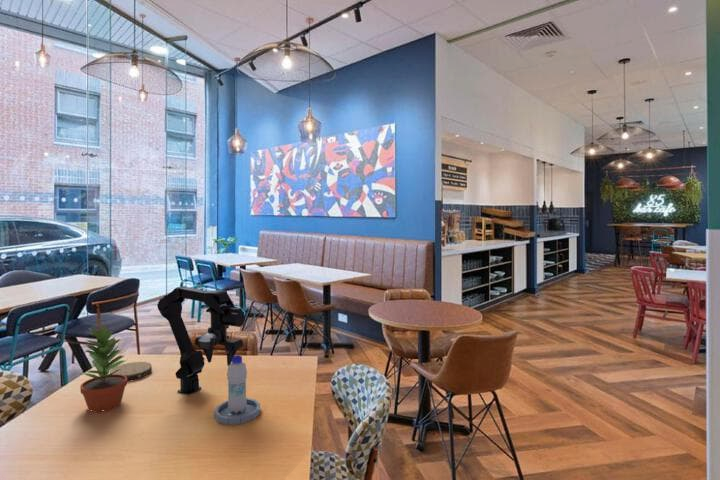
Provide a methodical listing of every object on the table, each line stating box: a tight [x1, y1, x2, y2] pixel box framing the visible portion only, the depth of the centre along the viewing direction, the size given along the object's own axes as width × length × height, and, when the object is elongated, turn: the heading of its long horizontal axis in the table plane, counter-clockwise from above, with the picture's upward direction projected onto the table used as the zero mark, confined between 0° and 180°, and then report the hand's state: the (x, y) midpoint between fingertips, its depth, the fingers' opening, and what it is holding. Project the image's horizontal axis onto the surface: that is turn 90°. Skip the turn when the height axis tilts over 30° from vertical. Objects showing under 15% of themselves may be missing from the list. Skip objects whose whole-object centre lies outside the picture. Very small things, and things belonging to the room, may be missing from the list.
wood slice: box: [109, 361, 153, 382], centre depth 175 cm, size 16×16×3 cm
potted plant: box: [79, 325, 128, 411], centre depth 145 cm, size 15×15×30 cm
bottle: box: [226, 354, 248, 414], centre depth 140 cm, size 7×7×20 cm
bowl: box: [214, 397, 261, 426], centre depth 140 cm, size 15×15×2 cm
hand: (219, 364), depth 153 cm, fingers open, 9 cm apart
